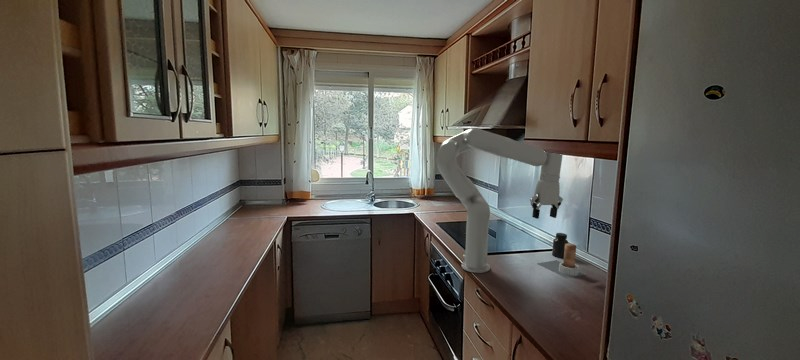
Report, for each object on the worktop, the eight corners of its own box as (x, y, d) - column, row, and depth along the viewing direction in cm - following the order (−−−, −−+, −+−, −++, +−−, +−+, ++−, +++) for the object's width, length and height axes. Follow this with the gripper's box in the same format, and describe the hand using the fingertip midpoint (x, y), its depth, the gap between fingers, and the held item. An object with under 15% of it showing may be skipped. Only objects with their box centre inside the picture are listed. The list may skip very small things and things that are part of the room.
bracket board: (536, 265, 160) (537, 257, 160) (556, 262, 165) (556, 254, 164) (566, 280, 145) (567, 271, 144) (587, 276, 149) (588, 267, 149)
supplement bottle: (549, 257, 171) (550, 233, 170) (556, 254, 175) (558, 231, 174) (562, 261, 166) (564, 237, 164) (569, 258, 170) (571, 234, 168)
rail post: (560, 270, 152) (562, 244, 150) (568, 269, 154) (570, 243, 152) (568, 274, 148) (571, 247, 146) (576, 273, 150) (578, 246, 148)
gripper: (558, 177, 154) (552, 214, 157) (527, 176, 148) (522, 215, 150) (571, 179, 147) (566, 219, 150) (540, 179, 141) (534, 220, 143)
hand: (544, 217), depth 150 cm, fingers open, 9 cm apart
